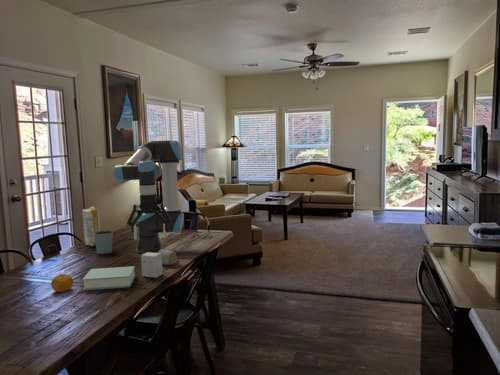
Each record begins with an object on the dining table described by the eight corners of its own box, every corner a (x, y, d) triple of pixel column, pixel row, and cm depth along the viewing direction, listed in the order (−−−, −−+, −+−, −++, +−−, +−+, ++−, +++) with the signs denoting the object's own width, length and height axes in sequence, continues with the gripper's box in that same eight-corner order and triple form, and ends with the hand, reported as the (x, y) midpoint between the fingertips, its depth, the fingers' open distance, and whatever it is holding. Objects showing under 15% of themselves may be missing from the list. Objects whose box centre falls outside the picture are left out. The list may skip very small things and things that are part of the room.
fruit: (55, 288, 162) (59, 270, 166) (45, 292, 166) (49, 274, 170) (74, 292, 168) (78, 273, 172) (64, 295, 172) (68, 277, 176)
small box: (162, 274, 187) (161, 252, 186) (156, 278, 182) (155, 256, 181) (148, 272, 190) (147, 251, 189) (142, 276, 185) (140, 255, 184)
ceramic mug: (170, 267, 198) (169, 252, 197) (156, 265, 200) (156, 251, 200) (180, 261, 208) (180, 247, 207) (167, 260, 210) (167, 246, 210)
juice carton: (102, 243, 248) (100, 206, 245) (92, 246, 241) (89, 208, 239) (93, 242, 253) (91, 205, 250) (82, 245, 246) (80, 207, 244)
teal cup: (91, 253, 226) (90, 233, 225) (104, 249, 236) (103, 229, 234) (105, 255, 223) (104, 234, 221) (117, 250, 232) (116, 230, 230)
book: (91, 279, 182) (91, 269, 182) (135, 276, 185) (134, 266, 184) (83, 290, 169) (82, 279, 168) (130, 287, 171) (129, 276, 171)
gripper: (118, 196, 176) (121, 241, 178) (174, 193, 179) (176, 238, 182) (122, 194, 184) (124, 237, 186) (175, 192, 187) (177, 235, 189)
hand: (150, 238), depth 184 cm, fingers open, 13 cm apart
